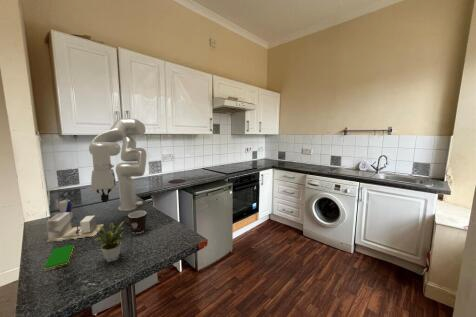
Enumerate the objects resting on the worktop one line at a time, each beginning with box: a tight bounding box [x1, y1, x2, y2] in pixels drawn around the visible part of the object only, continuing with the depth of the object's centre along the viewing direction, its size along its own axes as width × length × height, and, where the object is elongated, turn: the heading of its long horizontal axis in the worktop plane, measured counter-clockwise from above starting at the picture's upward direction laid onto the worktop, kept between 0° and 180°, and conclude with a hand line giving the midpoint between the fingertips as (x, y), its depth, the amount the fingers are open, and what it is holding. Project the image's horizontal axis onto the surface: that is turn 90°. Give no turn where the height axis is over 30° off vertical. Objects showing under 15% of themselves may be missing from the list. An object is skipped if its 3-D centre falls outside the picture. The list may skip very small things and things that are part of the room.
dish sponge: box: [43, 244, 75, 269], centre depth 85 cm, size 7×14×2 cm, turn 31°
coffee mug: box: [121, 210, 147, 233], centre depth 107 cm, size 12×9×10 cm
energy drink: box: [58, 199, 74, 221], centre depth 118 cm, size 5×5×12 cm
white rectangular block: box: [79, 215, 98, 234], centre depth 105 cm, size 4×10×6 cm, turn 15°
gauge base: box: [46, 212, 104, 243], centre depth 104 cm, size 20×12×10 cm, turn 105°
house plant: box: [92, 220, 126, 259], centre depth 84 cm, size 14×14×16 cm
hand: (105, 201), depth 106 cm, fingers closed
